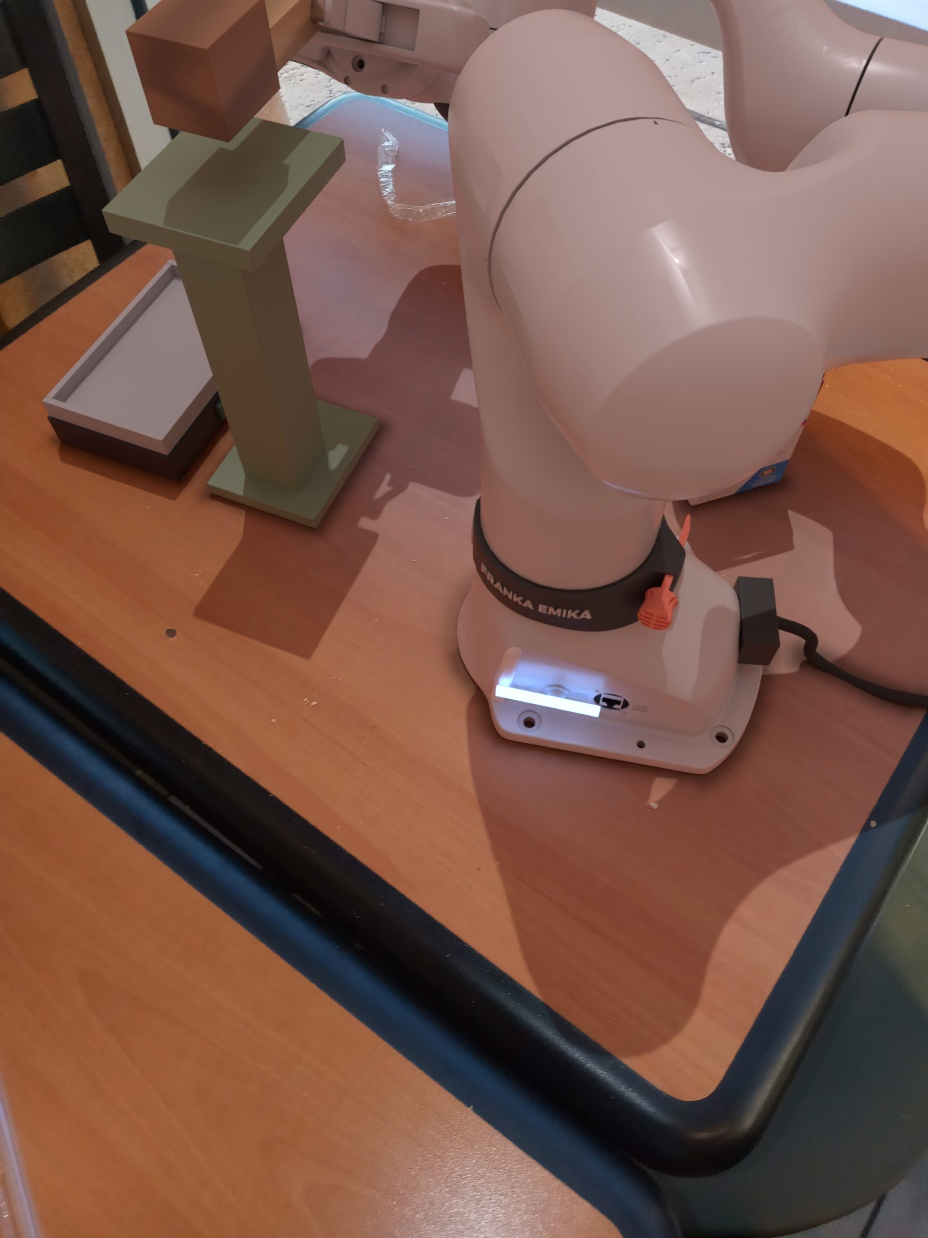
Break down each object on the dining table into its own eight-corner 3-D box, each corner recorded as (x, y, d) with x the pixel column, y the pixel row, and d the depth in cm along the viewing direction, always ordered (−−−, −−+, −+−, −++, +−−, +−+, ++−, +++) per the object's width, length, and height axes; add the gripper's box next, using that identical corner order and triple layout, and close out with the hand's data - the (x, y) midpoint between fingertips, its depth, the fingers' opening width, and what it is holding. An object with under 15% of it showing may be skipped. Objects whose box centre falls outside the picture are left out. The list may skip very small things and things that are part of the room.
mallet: (363, 2, 59) (354, -90, 55) (229, 143, 51) (206, 48, 47) (295, -12, 60) (281, -103, 56) (153, 124, 52) (124, 29, 48)
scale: (295, 332, 86) (286, 289, 82) (182, 483, 76) (166, 444, 72) (182, 299, 88) (168, 256, 84) (60, 441, 79) (37, 401, 75)
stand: (379, 427, 79) (343, 137, 57) (316, 529, 74) (248, 250, 52) (278, 396, 82) (206, 105, 59) (209, 492, 76) (101, 210, 54)
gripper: (504, 105, 67) (435, 93, 55) (260, 51, 71) (149, 30, 59) (522, 3, 64) (453, -32, 52) (266, -47, 68) (150, -90, 56)
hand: (288, 0), depth 56 cm, fingers closed on mallet, 3 cm apart
